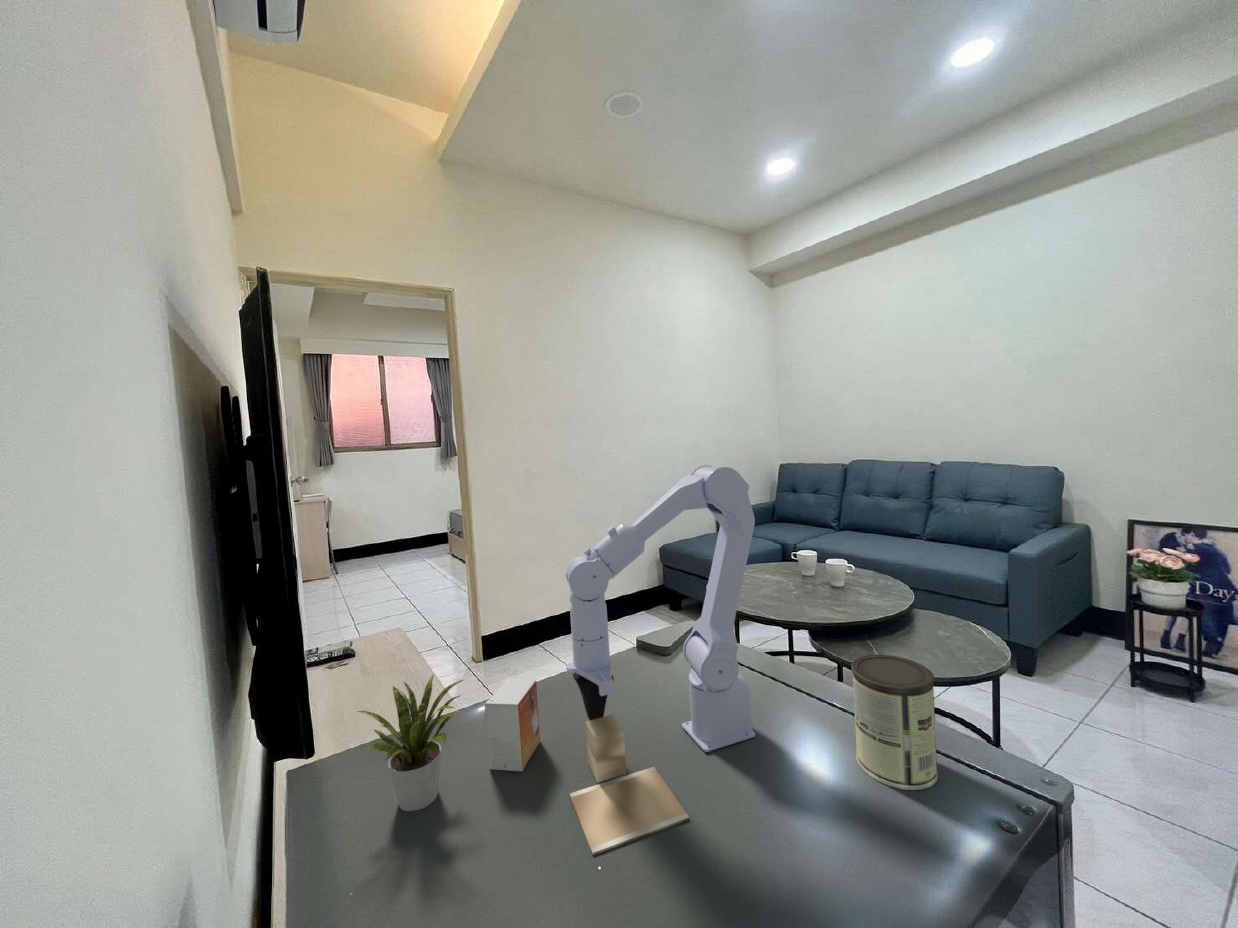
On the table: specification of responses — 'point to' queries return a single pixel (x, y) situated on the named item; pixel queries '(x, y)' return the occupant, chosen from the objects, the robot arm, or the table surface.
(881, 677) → the coffee can
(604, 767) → the beech block
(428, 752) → the house plant
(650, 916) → the table surface
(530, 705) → the small box
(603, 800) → the tan flat rectangular panel
